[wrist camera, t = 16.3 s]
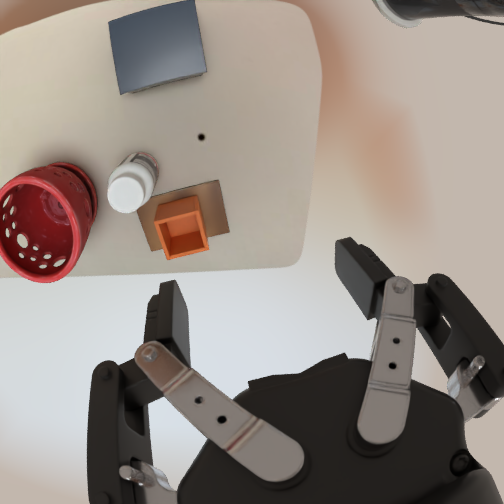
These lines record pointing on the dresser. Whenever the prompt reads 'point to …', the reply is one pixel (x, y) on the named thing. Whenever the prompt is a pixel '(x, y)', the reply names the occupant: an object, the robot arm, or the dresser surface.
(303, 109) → the dresser surface
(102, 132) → the dresser surface
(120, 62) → the blue tin
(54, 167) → the flower pot
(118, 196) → the pill bottle
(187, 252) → the orange tub
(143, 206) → the cork mat
